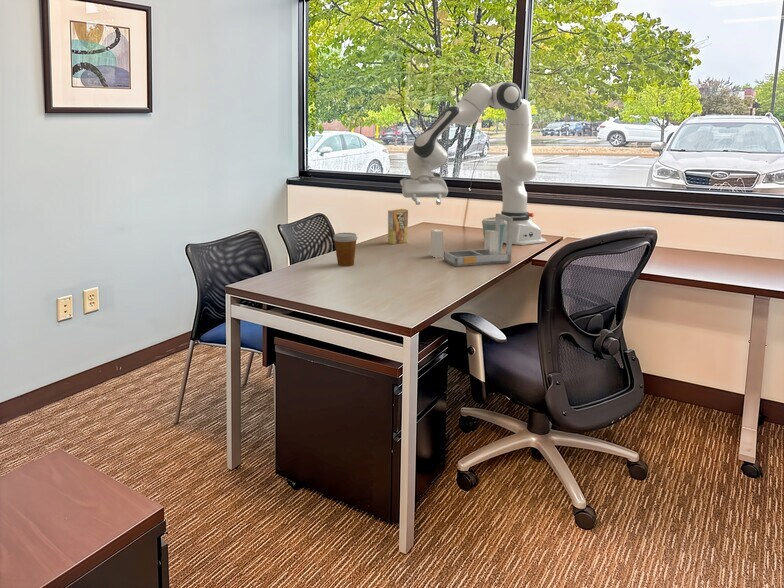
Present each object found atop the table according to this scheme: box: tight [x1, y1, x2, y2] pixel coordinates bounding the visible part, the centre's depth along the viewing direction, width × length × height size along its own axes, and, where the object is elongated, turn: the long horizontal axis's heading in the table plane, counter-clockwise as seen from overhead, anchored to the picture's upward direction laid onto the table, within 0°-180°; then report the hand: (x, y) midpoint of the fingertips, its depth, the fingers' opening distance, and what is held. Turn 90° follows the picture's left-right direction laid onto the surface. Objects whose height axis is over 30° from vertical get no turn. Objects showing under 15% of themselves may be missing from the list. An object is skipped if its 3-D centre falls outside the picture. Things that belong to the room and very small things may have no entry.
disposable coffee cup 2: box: [481, 216, 507, 254], centre depth 272 cm, size 11×11×15 cm
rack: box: [443, 213, 513, 267], centre depth 255 cm, size 24×12×18 cm, turn 107°
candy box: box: [387, 208, 409, 245], centre depth 294 cm, size 9×4×15 cm, turn 129°
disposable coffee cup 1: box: [332, 232, 358, 267], centre depth 250 cm, size 10×10×12 cm
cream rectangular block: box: [430, 228, 444, 259], centre depth 265 cm, size 4×5×11 cm
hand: (428, 203), depth 273 cm, fingers open, 8 cm apart
